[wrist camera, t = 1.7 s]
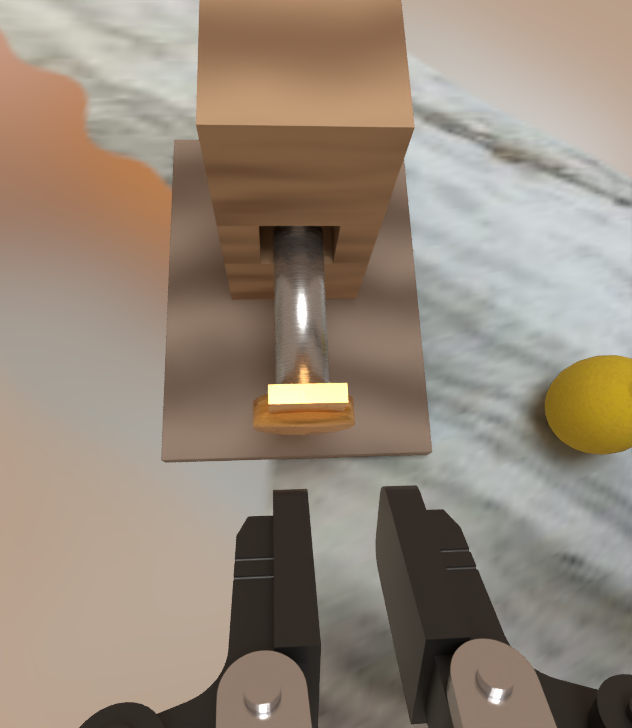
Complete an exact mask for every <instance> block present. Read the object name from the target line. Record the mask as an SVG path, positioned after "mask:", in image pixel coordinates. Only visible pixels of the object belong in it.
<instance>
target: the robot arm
mask: <svg viewBox="0 0 632 728" xmlns="http://www.w3.org/2000/svg"><path fill="white" fill-rule="evenodd" d="M376 559H377V567H378V572H379V577H380V581H381V586H382V591H383V595H384V600H385V605H386V610H387V614H388V619H389V624H390V628H391V633H392V638H393V642H394V647H395V652H396V657H397V661H398V666H399V671H400V675H401V680H402V685H403V690H404V694H405V699H406V704H407V708H408V713H409V718H410V722H411V724H422V723H427V724H428V728H632V675H627V674H621V675H615V676H612V677H610V678H608V679H607V680H605V681H604V682H603V683H602V685H601V686H600V688H599V690H597V689H593V688H589V687H585V686H581V685H578V684H574V683H570V682H566V681H562V680H559V679H555V678H552V677H549V676H547V675H545V674H543V673H541V672H539V671H537V670H536V669H534V668H533V667H532V666H531V664H530V663H529V662H528V661H527V660H526V658H525V657H524V656H523V655H521V654H520V653H519V652H518V651H516V650H515V649H514V648H512V647H511V646H510V644H509V643H508V641H507V639H506V637H505V635H504V633H503V630H502V628H501V625H500V623H499V620H498V618H497V615H496V613H495V611H494V608H493V606H492V603H491V601H490V598H489V596H488V593H487V591H486V589H485V586H484V584H483V581H482V579H481V576H480V574H479V571H478V570H476V564H475V562H474V559H473V557H472V554H471V552H469V547H468V545H467V542H466V540H465V537H464V535H463V532H462V530H461V527H460V526H459V525H458V524H457V523H456V522H455V521H454V520H453V519H452V518H451V517H450V516H449V515H448V514H447V513H446V512H445V511H444V510H443V509H441V510H426V508H425V505H424V502H423V499H422V496H421V493H420V491H419V488H418V487H417V486H416V485H414V486H385V487H382V488H381V492H380V501H379V511H378V521H377V531H376ZM232 594H233V595H232V607H231V608H232V609H231V622H230V635H229V649H228V656H227V660H226V663H225V666H224V668H223V670H222V672H221V674H220V675H219V677H218V678H217V680H216V681H215V682H214V683H213V684H212V685H211V686H210V687H209V688H208V689H207V690H206V691H205V692H203V693H202V694H200V695H199V696H197V697H196V698H194V699H192V700H190V701H188V702H186V703H183V704H180V705H178V706H176V707H173V708H170V709H168V710H166V711H163V712H161V713H158V714H156V713H155V712H154V711H153V710H151V709H150V708H149V707H147V706H144V705H142V704H138V703H132V702H125V703H118V704H114V705H111V706H109V707H106V708H104V709H102V710H100V711H98V712H97V713H95V714H94V715H93V716H91V717H90V718H89V719H88V720H86V721H85V722H84V723H83V724H82V725H81V726H80V728H318V709H319V682H320V655H321V641H320V630H319V618H318V606H317V595H316V583H315V572H314V560H313V549H312V537H311V526H310V514H309V503H308V492H307V489H293V490H273V516H251V517H248V518H247V519H246V521H245V523H244V524H243V526H242V528H241V529H240V531H239V533H238V534H237V537H236V552H235V565H234V581H233V593H232Z"/></svg>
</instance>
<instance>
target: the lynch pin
mask: <svg viewBox="0 0 632 728" xmlns="http://www.w3.org/2000/svg"><path fill="white" fill-rule="evenodd" d="M273 254H274V310H275V367H276V385H268V394H266V395H263V396H260V397H258V398H256V399H255V400H254V401H253V429H254V430H256V431H259V432H263V433H269V434H279V435H310V434H323V433H331V432H337V431H342V430H346V429H349V428H351V427H353V426H354V425H355V416H354V399H353V397H352V396H350V395H348V389H347V383H330V379H329V358H328V336H327V314H326V292H325V271H324V249H323V227H322V226H273Z"/></svg>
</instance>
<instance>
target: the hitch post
mask: <svg viewBox="0 0 632 728" xmlns="http://www.w3.org/2000/svg"><path fill="white" fill-rule="evenodd" d="M196 126H197V131H198V136H199V140H174V163H173V187H172V213H171V214H172V215H171V237H170V261H169V287H168V309H167V335H166V358H165V383H164V384H165V385H164V407H163V408H164V409H163V432H162V433H163V434H162V457H161V460H162V461H164V462H194V461H195V462H196V461H229V460H260V459H261V460H262V459H295V458H329V457H362V456H395V455H427V454H429V453H431V452H432V445H431V435H430V424H429V414H428V403H427V393H426V383H425V372H424V362H423V352H422V341H421V331H420V320H419V310H418V300H417V289H416V279H415V269H414V258H413V248H412V237H411V227H410V217H409V206H408V196H407V186H406V175H405V165H404V157H405V154H406V151H407V148H408V145H409V142H410V139H411V136H412V133H413V130H414V118H413V109H412V99H411V90H410V80H409V71H408V61H407V51H406V43H405V33H404V23H403V13H402V4H401V0H200V4H199V39H198V75H197V111H196ZM273 226H322V227H323V249H324V271H325V292H326V314H327V336H328V358H329V379H330V383H347V389H348V395H350V396H352V397H353V399H354V416H355V425H354V426H353V427H351V428H349V429H346V430H342V431H337V432H331V433H323V434H310V435H279V434H269V433H263V432H259V431H256V430H254V429H253V401H254V400H255V399H256V398H258V397H260V396H263V395H266V394H268V385H276V367H275V310H274V254H273Z"/></svg>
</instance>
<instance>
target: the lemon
mask: <svg viewBox="0 0 632 728" xmlns="http://www.w3.org/2000/svg"><path fill="white" fill-rule="evenodd" d="M545 415H546V418H547V421H548V424H549V426H550V427H551V429H552V431H553V432H554V434H555V435H556V436H557V437H558V438H559V439H560V440H561V441H562V442H564V443H565V444H567V445H568V446H570V447H571V448H574V449H576V450H579V451H582V452H585V453H592V454H610V453H616V452H621V451H624V450H627V449H629V448H631V447H632V359H631V358H626V357H622V356H617V355H608V356H595V357H591V358H588V359H584V360H581V361H578V362H576V363H574V364H573V365H571V366H569V367H568V368H566V369H564V370H563V371H562V372H561V373H560V374H559V375H558V376H557V377H556V379H555V380H554V381H553V382H552V384H551V385H550V388H549V390H548V392H547V394H546V399H545Z"/></svg>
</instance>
